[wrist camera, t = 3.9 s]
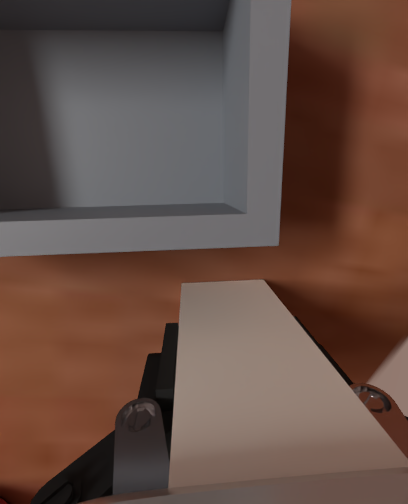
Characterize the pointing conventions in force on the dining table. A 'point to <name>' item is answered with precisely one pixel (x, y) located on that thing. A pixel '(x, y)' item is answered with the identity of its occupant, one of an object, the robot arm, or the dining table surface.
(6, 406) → the dining table surface
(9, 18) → the grey open box
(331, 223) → the dining table surface
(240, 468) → the post
